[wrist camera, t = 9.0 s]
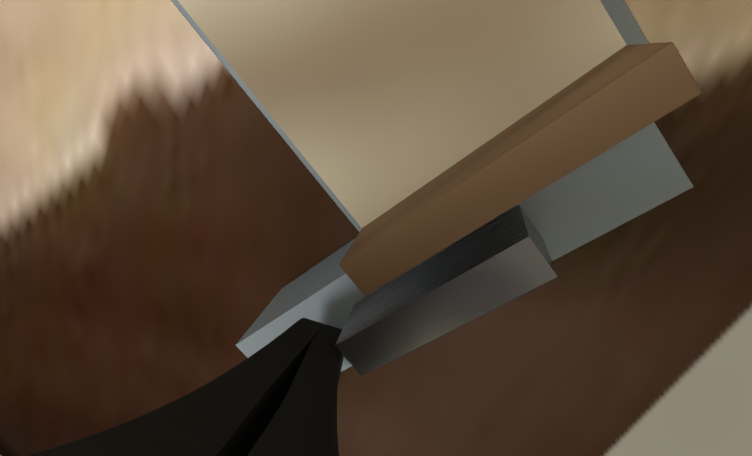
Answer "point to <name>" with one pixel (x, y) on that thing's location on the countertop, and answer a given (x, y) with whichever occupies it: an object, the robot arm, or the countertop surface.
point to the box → (544, 209)
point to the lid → (441, 104)
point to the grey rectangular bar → (447, 291)
